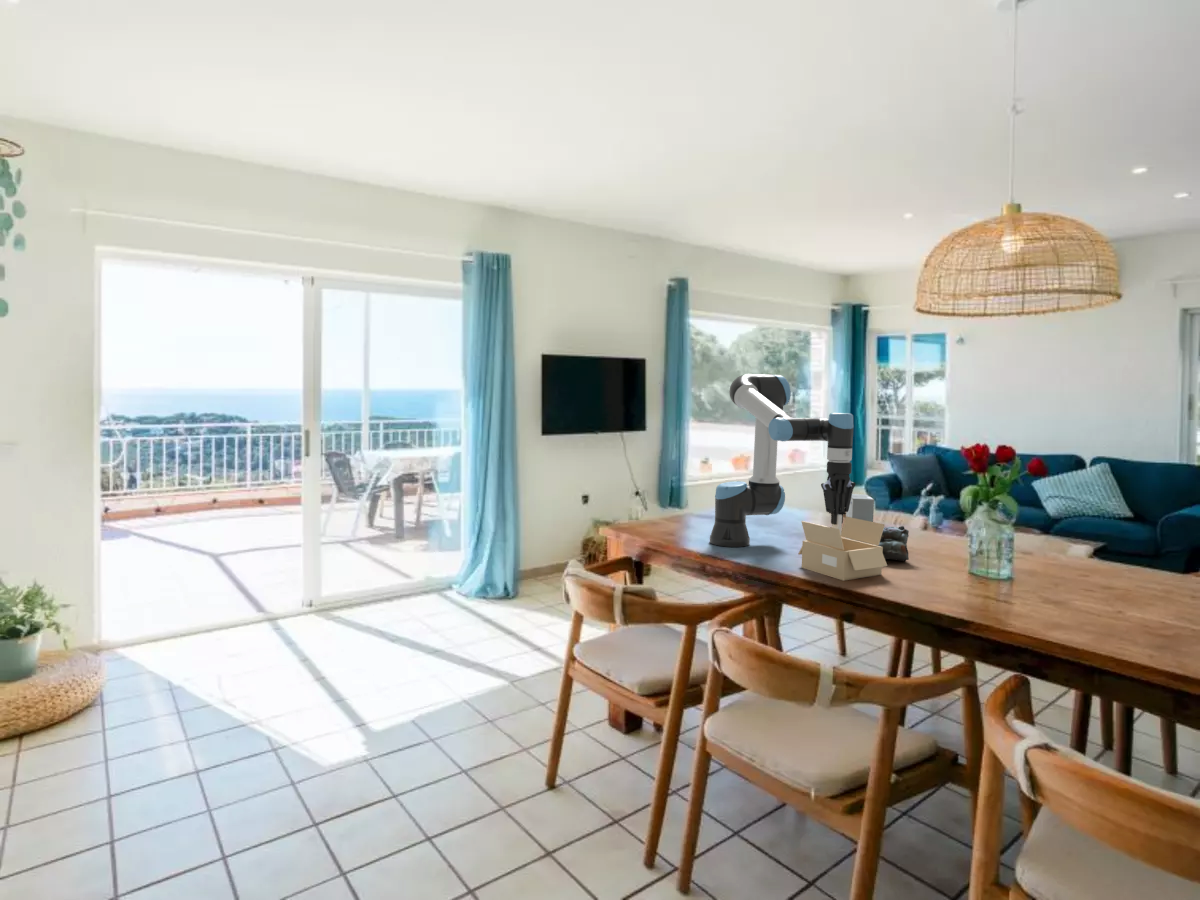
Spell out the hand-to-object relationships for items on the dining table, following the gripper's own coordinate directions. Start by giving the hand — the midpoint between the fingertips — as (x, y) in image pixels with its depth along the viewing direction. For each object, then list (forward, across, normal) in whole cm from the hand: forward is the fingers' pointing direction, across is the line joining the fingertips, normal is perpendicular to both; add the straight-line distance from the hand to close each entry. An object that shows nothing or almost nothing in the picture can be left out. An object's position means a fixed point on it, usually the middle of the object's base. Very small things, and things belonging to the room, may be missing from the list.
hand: (836, 534), depth 227 cm
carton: (+12, +3, 0) cm, 13 cm away
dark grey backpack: (+13, +30, +6) cm, 33 cm away
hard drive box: (+13, +34, +22) cm, 43 cm away
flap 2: (0, +11, 0) cm, 11 cm away
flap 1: (0, -6, 0) cm, 6 cm away
